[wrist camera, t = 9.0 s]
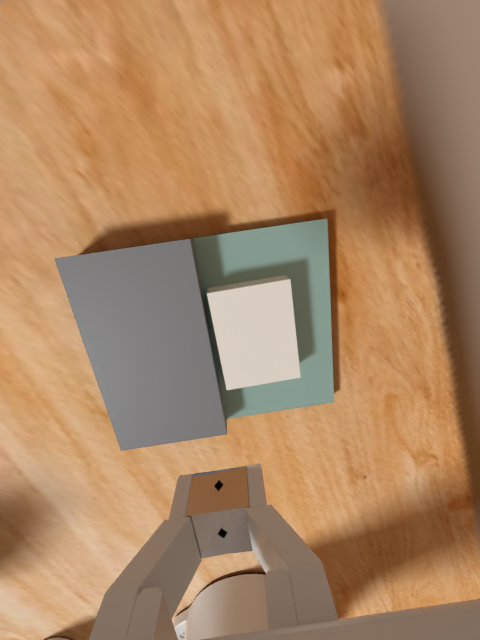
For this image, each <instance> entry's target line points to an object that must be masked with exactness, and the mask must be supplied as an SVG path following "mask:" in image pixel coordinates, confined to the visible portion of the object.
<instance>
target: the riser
mask: <svg viewBox="0 0 480 640" xmlns="http://www.w3.org/2000/svg"><path fill="white" fill-rule="evenodd" d="M55 262H56V265H57V267H58V270H59V273H60V276H61V279H62V282H63V285H64V288H65V291H66V293H67V296H68V299H69V302H70V305H71V308H72V311H73V314H74V316H75V319H76V322H77V325H78V328H79V331H80V334H81V337H82V339H83V342H84V345H85V348H86V351H87V354H88V357H89V360H90V363H91V365H92V368H93V371H94V374H95V377H96V380H97V383H98V386H99V388H100V391H101V394H102V397H103V400H104V403H105V406H106V409H107V411H108V414H109V417H110V420H111V423H112V426H113V429H114V432H115V435H116V437H117V440H118V443H119V446H120V449H121V451H123V450H129V449H136V448H142V447H149V446H155V445H161V444H168V443H174V442H181V441H187V440H193V439H200V438H206V437H213V436H219V435H225V434H227V418H226V413H225V407H224V402H223V397H222V391H221V386H220V380H219V375H218V370H217V364H216V359H215V353H214V348H213V343H212V337H211V332H210V327H209V321H208V316H207V310H206V305H205V300H204V294H203V289H202V284H201V278H200V273H199V267H198V262H197V257H196V251H195V246H194V241H193V238H191V239H184V240H177V241H170V242H164V243H157V244H150V245H143V246H136V247H130V248H123V249H116V250H109V251H103V252H96V253H89V254H82V255H75V256H69V257H62V258H56V259H55Z"/></svg>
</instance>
